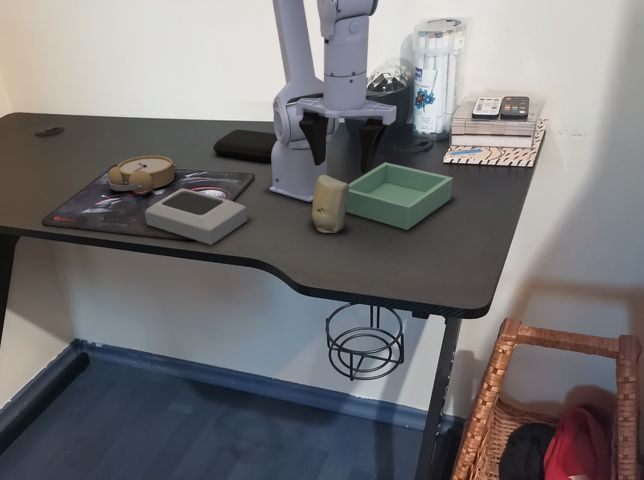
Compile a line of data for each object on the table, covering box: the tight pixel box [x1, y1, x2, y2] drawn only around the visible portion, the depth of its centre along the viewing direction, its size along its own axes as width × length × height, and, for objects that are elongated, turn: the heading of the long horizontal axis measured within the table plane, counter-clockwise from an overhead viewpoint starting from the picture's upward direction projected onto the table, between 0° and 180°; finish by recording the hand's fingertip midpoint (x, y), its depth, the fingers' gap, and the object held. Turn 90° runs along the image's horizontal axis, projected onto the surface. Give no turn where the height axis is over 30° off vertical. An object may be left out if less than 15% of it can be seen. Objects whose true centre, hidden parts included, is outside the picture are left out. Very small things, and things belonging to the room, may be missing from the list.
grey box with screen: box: [144, 187, 248, 246], centre depth 108 cm, size 10×4×15 cm
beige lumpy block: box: [311, 174, 349, 234], centre depth 99 cm, size 6×5×8 cm
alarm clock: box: [105, 155, 178, 196], centre depth 124 cm, size 11×5×15 cm
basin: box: [345, 161, 454, 231], centre depth 103 cm, size 13×13×4 cm
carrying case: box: [213, 129, 278, 163], centre depth 130 cm, size 11×3×15 cm
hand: (342, 166), depth 94 cm, fingers open, 7 cm apart
